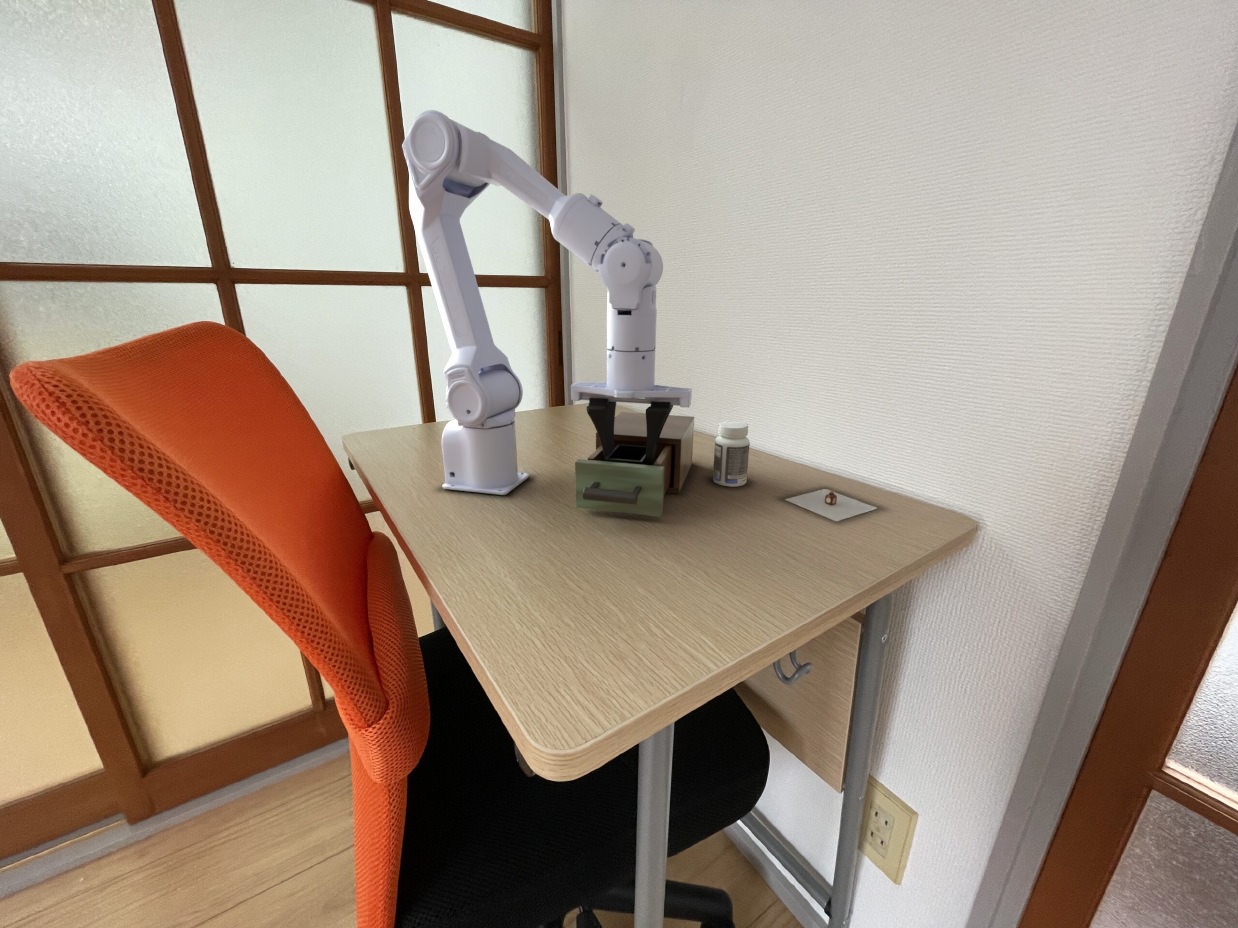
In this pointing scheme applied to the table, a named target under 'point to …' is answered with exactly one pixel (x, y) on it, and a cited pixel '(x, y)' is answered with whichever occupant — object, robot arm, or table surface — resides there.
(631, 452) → the tray
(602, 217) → the robot arm
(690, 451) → the cabinet
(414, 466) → the table surface
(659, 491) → the drawer
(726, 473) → the pill bottle
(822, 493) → the grey square plate
